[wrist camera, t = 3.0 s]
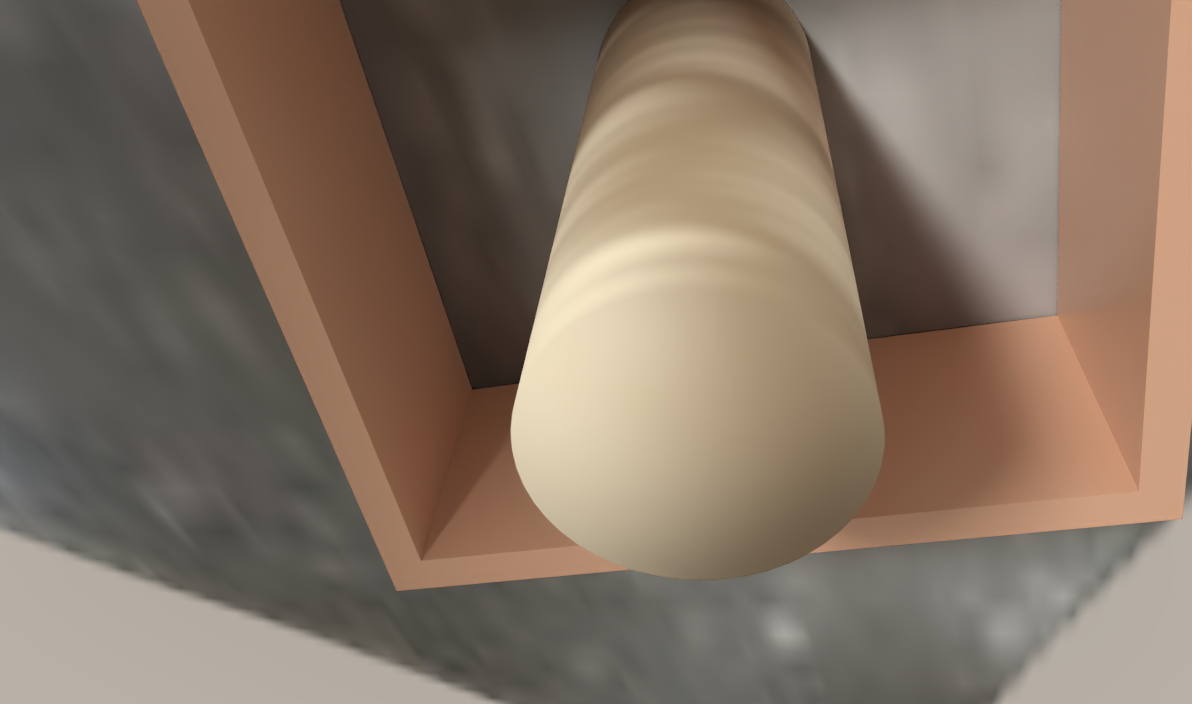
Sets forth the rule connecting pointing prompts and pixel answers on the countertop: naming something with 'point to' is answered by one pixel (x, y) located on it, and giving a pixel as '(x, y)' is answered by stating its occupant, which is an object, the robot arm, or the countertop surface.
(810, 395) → the dowel pin
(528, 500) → the peach storage bin
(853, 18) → the countertop surface
